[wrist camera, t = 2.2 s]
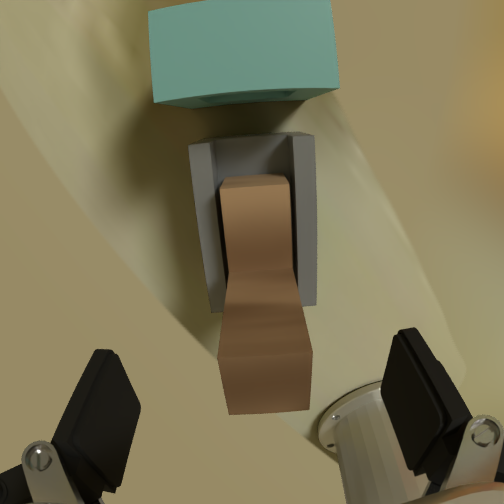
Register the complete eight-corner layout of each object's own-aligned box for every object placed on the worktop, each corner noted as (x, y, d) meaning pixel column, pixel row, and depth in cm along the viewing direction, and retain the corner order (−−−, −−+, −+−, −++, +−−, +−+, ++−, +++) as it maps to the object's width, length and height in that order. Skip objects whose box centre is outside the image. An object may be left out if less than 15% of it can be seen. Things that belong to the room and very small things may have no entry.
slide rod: (287, 291, 19) (309, 409, 11) (237, 294, 19) (228, 414, 11) (283, 172, 16) (314, 230, 8) (225, 177, 16) (196, 239, 8)
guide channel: (303, 264, 22) (316, 305, 17) (219, 270, 22) (211, 312, 18) (298, 131, 19) (314, 135, 14) (204, 138, 19) (187, 145, 14)
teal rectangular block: (306, 100, 18) (339, 87, 11) (191, 108, 18) (153, 102, 11) (300, 40, 16) (329, -4, 9) (186, 49, 16) (148, 11, 9)
